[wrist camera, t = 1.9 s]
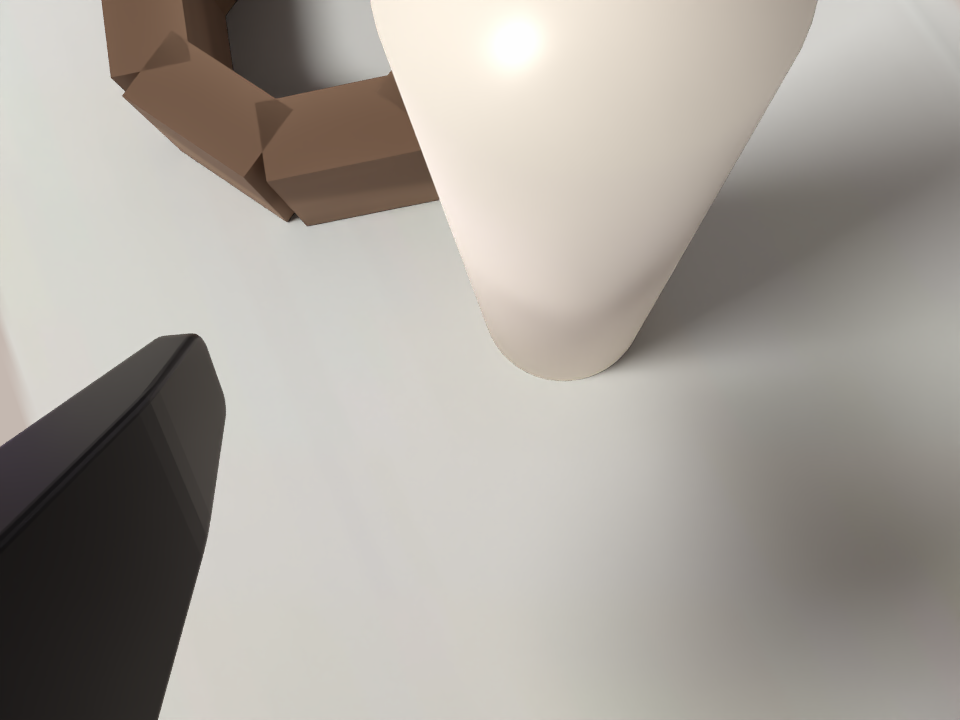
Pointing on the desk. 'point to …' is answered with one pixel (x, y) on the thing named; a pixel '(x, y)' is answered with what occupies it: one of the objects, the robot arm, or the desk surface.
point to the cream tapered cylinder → (582, 148)
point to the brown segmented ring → (264, 117)
